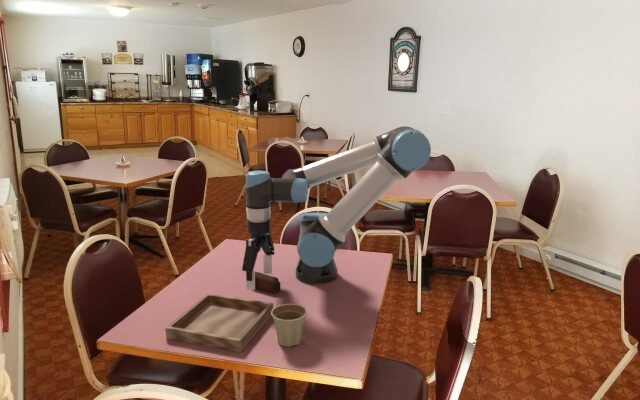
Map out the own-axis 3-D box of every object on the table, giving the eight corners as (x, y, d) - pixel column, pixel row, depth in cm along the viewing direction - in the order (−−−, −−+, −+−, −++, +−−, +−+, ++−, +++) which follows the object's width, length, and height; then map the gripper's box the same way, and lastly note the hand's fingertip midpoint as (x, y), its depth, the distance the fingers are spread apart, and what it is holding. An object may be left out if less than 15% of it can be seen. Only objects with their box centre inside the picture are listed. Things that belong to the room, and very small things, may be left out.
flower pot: (272, 332, 127) (271, 303, 125) (305, 331, 128) (305, 302, 126) (271, 351, 118) (270, 321, 116) (307, 350, 119) (307, 319, 117)
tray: (273, 313, 138) (273, 303, 137) (240, 352, 117) (239, 341, 117) (208, 303, 144) (207, 293, 143) (166, 338, 123) (165, 327, 123)
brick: (248, 287, 155) (248, 274, 154) (256, 283, 159) (255, 270, 158) (273, 295, 150) (273, 282, 149) (281, 290, 153) (280, 277, 152)
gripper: (263, 208, 159) (264, 265, 164) (229, 229, 136) (231, 295, 141) (283, 210, 157) (283, 268, 162) (252, 231, 134) (254, 298, 139)
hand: (259, 280), depth 152 cm, fingers open, 13 cm apart
